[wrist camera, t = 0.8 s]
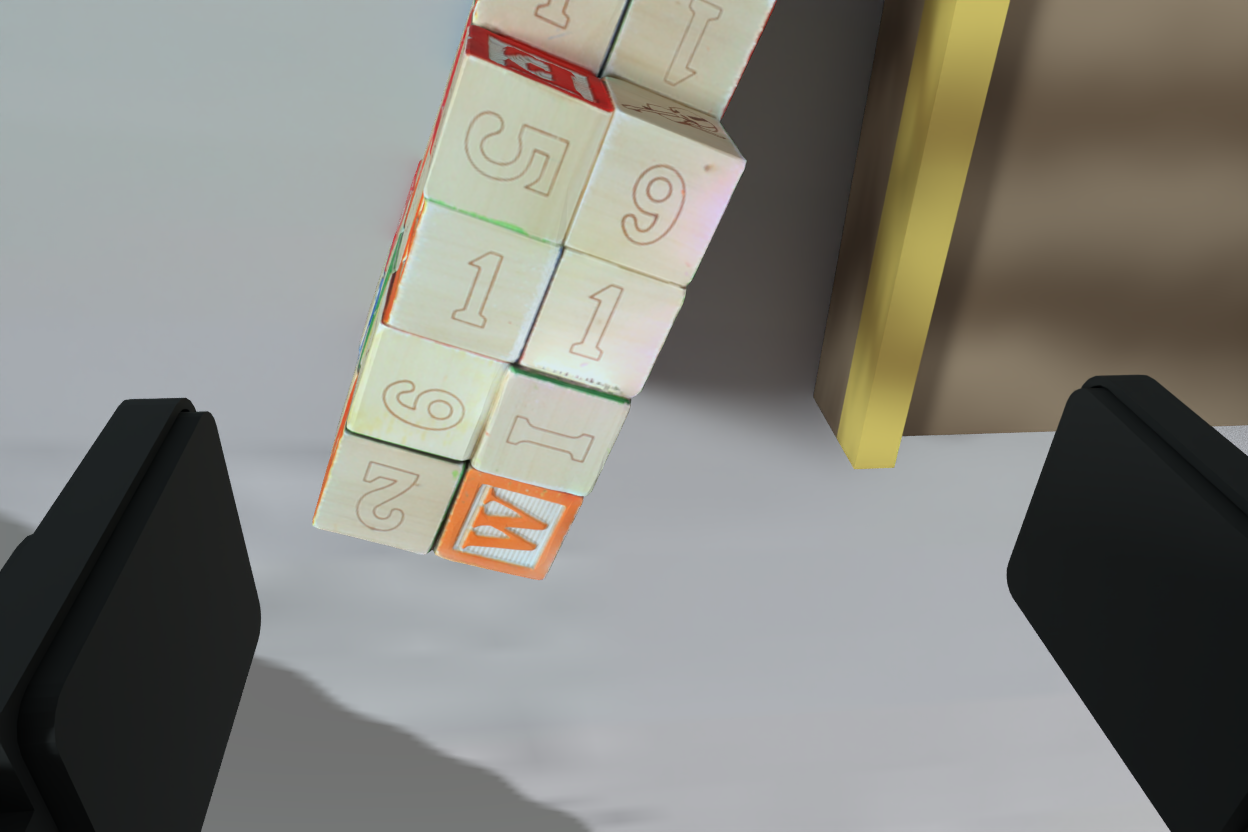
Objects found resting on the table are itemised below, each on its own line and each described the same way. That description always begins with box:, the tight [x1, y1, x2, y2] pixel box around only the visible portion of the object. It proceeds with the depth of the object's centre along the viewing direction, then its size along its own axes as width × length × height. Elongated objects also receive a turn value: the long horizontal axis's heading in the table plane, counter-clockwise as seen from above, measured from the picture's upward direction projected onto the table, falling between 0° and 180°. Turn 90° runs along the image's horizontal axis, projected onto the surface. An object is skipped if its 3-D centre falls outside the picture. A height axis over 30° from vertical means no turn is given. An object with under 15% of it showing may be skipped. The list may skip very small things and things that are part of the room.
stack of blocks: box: [313, 0, 777, 580], centre depth 23 cm, size 21×6×12 cm, turn 156°
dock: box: [813, 0, 1248, 469], centre depth 29 cm, size 25×19×5 cm
